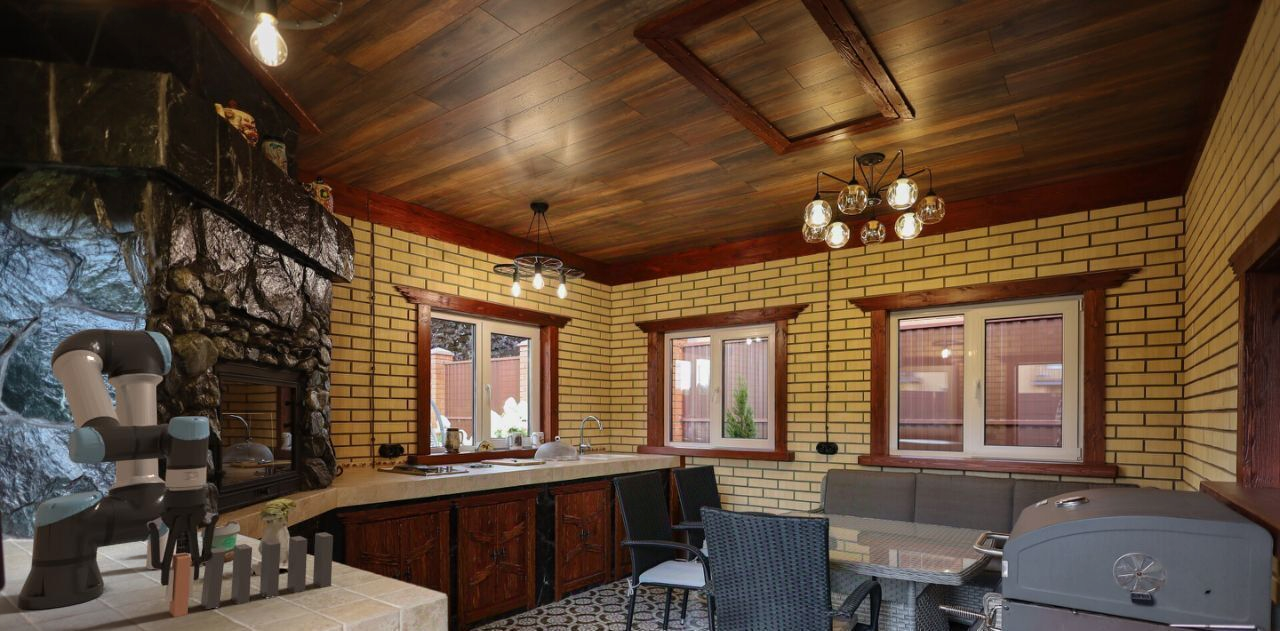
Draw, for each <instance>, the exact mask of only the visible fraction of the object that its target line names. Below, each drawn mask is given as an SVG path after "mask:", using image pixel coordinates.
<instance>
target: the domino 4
mask: <svg viewBox="0 0 1280 631" xmlns="http://www.w3.org/2000/svg"><path fill="white" fill-rule="evenodd" d="M280 544H281V543H279V542H277V541H275V540H269V541H262V556H261V561H260V562H261V575H260V579H259V580H260V582H259V583H260V585H259V594H260V593H261V594H262V595H264V596H265V597H272V596H277V595H278V596H279V584H280V583H279V582H280V568H279V565H280ZM261 594H260V595H261ZM262 595H261V596H262ZM264 596H263V597H264ZM265 597H264V598H265Z"/></svg>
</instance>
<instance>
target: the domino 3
mask: <svg viewBox="0 0 1280 631" xmlns="http://www.w3.org/2000/svg"><path fill="white" fill-rule="evenodd" d="M252 558H253V547H252V546H250V545H249V544H248V543H247V544H246V543H243V544H236V545H235V546H234V555H233V561H232V574H231V577H232V578H231V594H230V596H231V597H230V599H232V600H231V601H232V602H234V601H235V602H236V603H237V604H236V603H235V602H234V603H235V604H236V605H240V604H239V603H242V604H246V603H245V602H247V603H249V602H250V597H251V578H252V577H251V576H252V573H251V567H252ZM248 601H249V602H248Z"/></svg>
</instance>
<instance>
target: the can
mask: <svg viewBox="0 0 1280 631" xmlns="http://www.w3.org/2000/svg"><path fill="white" fill-rule="evenodd" d="M168 533H169V530H168V532H167V533H166V534H165V535H164V536H162V537H160V538H159V541H160V562H162V560H163V556H164V552H165V548H166V543H167V539H168ZM176 541H177V540H176ZM146 545H147V548H146V564H145V566H146V569H147V570H148V569H155V568H153V567H152V565H151V541H150V540H147V544H146ZM173 554H176V545H175V549H174V553H173ZM172 558H173V557H172ZM171 566H172V562H171ZM171 566H170V568H172V567H171Z"/></svg>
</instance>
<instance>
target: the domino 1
mask: <svg viewBox="0 0 1280 631" xmlns="http://www.w3.org/2000/svg"><path fill="white" fill-rule="evenodd" d="M191 564H192V562H191V555H190V554H187V553H180V554H173V558H172V567H171V568H173V569H174V579H173V595H172V601H171V602H169V608H168V609H169V611H168V613H170V614H171V615H172V616H173V617H174V618H176V616H177V617H182V616H187V615H189V614H188V612H189V611H188V609H189V599H190V598H189V582H190V566H191ZM186 614H187V615H186ZM181 615H182V616H181Z"/></svg>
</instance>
